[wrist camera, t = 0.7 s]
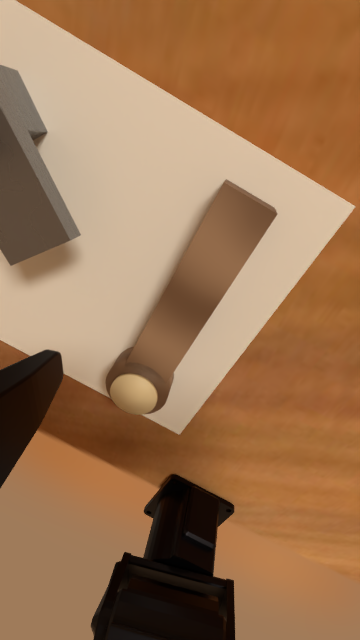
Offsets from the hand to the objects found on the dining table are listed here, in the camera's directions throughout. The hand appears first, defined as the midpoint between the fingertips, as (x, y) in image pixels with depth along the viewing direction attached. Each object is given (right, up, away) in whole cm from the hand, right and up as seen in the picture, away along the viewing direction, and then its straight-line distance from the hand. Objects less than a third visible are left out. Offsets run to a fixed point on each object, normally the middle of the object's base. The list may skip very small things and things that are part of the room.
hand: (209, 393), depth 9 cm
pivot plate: (-6, +6, +12) cm, 15 cm away
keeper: (-9, +11, +10) cm, 17 cm away
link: (-1, +3, +12) cm, 12 cm away
